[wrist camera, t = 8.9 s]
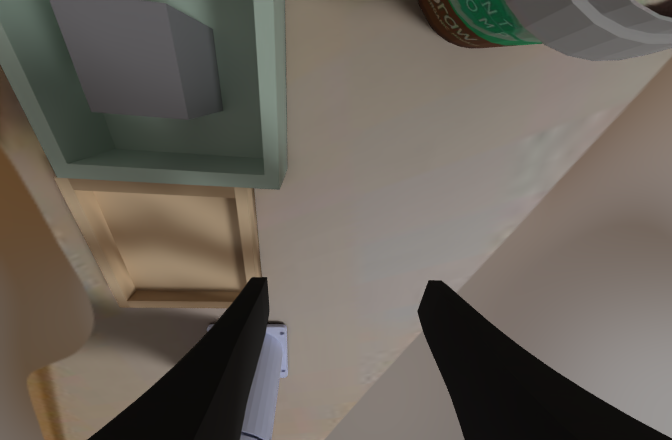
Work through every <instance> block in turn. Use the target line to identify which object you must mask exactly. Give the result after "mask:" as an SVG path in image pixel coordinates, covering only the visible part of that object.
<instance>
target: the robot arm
mask: <svg viewBox="0 0 672 440" xmlns="http://www.w3.org/2000/svg"><path fill="white" fill-rule="evenodd" d="M417 312H418V315H419V319H420V322H421V326H422V329H423V332H424V335H425V337H426V340H427V342H428V345H429V347H430V349H431V352H432V354H433V356H434V359H435V361H436V363H437V366H438V368H439V370H440V372H441V375H442V377H443V379H444V382H445V384H446V386H447V389H448V391H449V394H450V396H451V399H452V402H453V405H454V408H455V411H456V414H457V417H458V420H459V423H460V426H461V429H462V432H463V436H464V438H465V440H672V438H670V437H668V436H666V435H664V434H662V433H660V432H658V431H657V430H655V429H653V428H651V427H649V426H647V425H645V424H643V423H642V422H640V421H638V420H636V419H634V418H632V417H631V416H629V415H627V414H625V413H624V412H622V411H620V410H618V409H617V408H615V407H613V406H612V405H610V404H608V403H606V402H604V401H603V400H601V399H599V398H598V397H596V396H594V395H593V394H591V393H589V392H588V391H586V390H584V389H583V388H581V387H580V386H578V385H577V384H575V383H574V382H572V381H570V380H569V379H567V378H565V377H564V376H562V375H561V374H559V373H557V372H556V371H555V370H553V369H552V368H550V367H549V366H547V365H546V364H544V363H543V362H542V361H540V360H539V359H537V358H536V357H535V356H533V355H531V354H530V353H529V352H528V351H526V350H525V349H523V348H522V347H521V346H519V345H518V344H517V343H515V342H514V341H513V340H511V339H510V338H509V337H508V336H506V335H505V334H504V333H503V332H501V331H500V330H499V329H498V328H496V327H495V326H494V325H493V324H491V323H490V322H489V321H488V320H486V319H485V318H484V317H483V316H482V315H481V314H480V313H478V312H477V311H476V310H475V309H474V308H473V307H471V306H470V305H469V304H468V303H467V302H466V301H465V300H463V299H462V298H461V297H460V296H459V295H458V294H457V293H456V292H454V291H453V290H452V289H451V288H450V287H449V286H447V285H446V284H445V283H444V282H443V281H435V280H429V281H428V284H427V286H426V289H425V292H424V295H423V297H422V300H421V303H420V306H419V309H418V311H417ZM268 317H269V297H268V284H267V277H252V278H251V279H250V280H249V281H248V282H247V284H246V285H245V287H244V288H243V289H242V291H241V292H240V294H239V295H238V296H237V297H236V299H235V300H234V301H233V303H232V304H231V305H230V306H229V308H228V309H227V310H226V311H225V312H224V314H223V315H222V316H221V317H220V318H219V320H218V321H217V322H216V323H215V324H210V325H209V326H208V327H207V333H206V334H205V335H204V336H203V338H202V339H201V340H200V341H199V342H198V343H197V344H196V345H195V346H194V347H193V348H192V349H191V350H190V351H189V352H188V353H187V354H186V355H185V356H184V357H183V358H182V359H181V360H180V361H179V362H178V363H177V364H176V365H175V366H174V367H173V368H172V369H171V370H170V371H168V372H167V373H166V374H165V375H164V376H163V377H162V378H161V379H160V380H159V381H157V382H156V383H155V384H154V385H153V386H152V387H151V388H150V389H149V390H147V391H146V392H145V393H144V394H143V395H142V396H140V397H139V398H138V399H137V400H136V401H135V402H133V403H132V404H131V405H130V406H128V407H127V408H126V409H125V410H124V411H122V412H121V413H120V414H119V415H117V416H116V417H115V418H114V419H113V420H111V421H110V422H109V423H108V424H106V425H105V426H104V427H103V428H102V429H100V430H99V431H98V432H97V433H95V434H94V435H93V436H91V437H90V438H89V439H88V440H272V432H273V425H274V417H275V410H276V402H277V395H278V387H279V380H280V378H284V377H287V375H288V356H287V326H286V325H284V324H267V323H268Z"/></svg>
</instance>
